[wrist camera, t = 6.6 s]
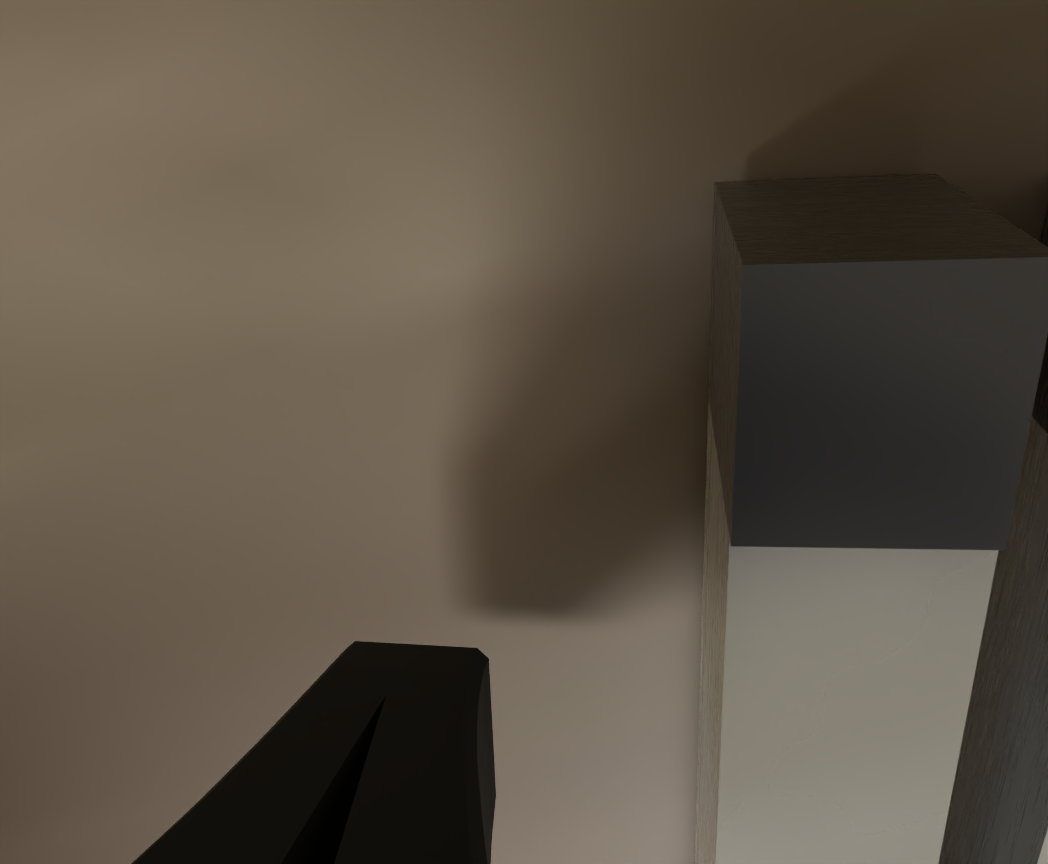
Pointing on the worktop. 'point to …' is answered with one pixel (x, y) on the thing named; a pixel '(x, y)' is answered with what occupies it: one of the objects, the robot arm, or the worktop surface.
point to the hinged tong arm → (854, 506)
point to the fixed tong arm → (1010, 685)
